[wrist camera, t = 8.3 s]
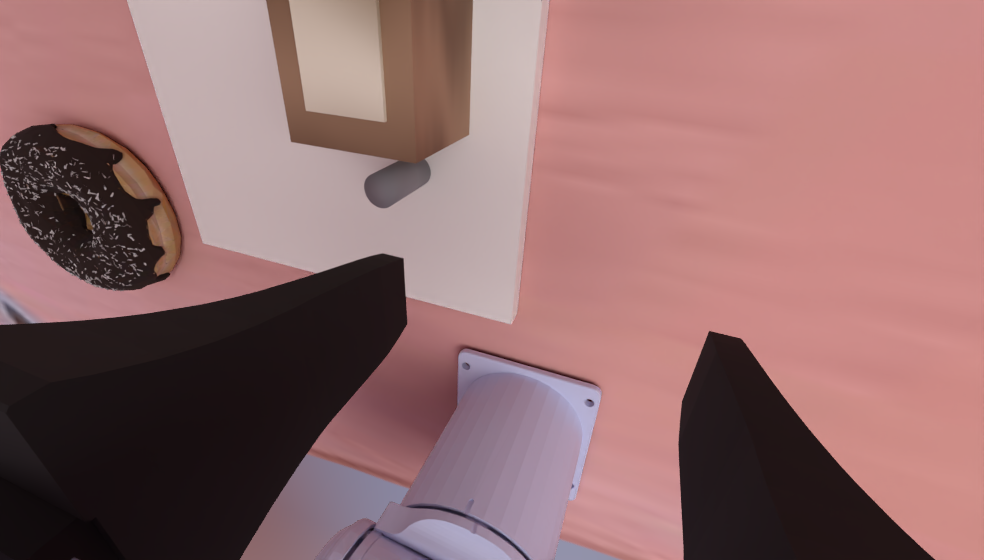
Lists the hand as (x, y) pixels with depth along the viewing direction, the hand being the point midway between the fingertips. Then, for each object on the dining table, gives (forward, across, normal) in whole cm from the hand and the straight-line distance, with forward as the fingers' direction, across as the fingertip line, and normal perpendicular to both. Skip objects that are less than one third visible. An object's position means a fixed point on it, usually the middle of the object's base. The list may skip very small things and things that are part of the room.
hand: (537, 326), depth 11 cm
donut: (+10, +31, +6) cm, 33 cm away
